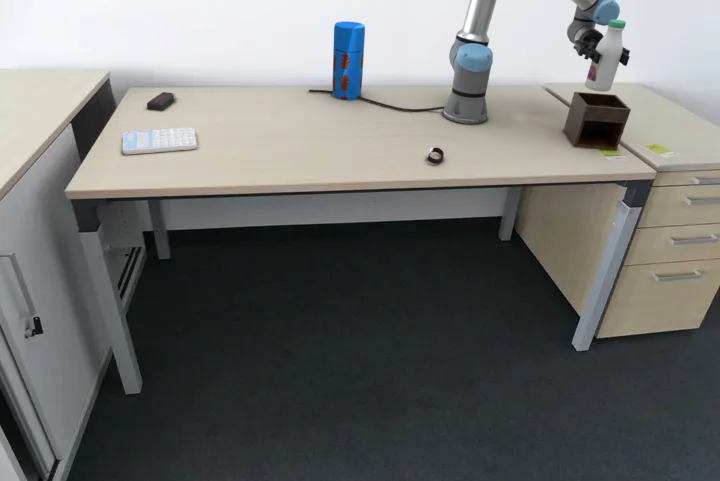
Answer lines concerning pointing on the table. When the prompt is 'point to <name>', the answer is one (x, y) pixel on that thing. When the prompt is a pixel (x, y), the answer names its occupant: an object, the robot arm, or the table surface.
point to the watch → (436, 152)
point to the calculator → (159, 140)
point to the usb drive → (161, 101)
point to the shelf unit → (596, 120)
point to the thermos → (348, 59)
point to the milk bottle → (607, 58)
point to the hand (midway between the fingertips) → (612, 60)
